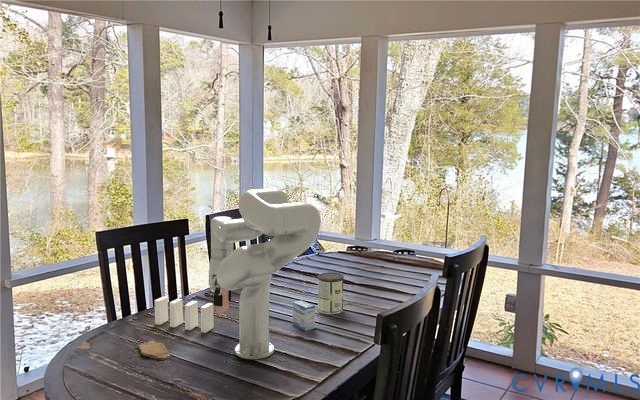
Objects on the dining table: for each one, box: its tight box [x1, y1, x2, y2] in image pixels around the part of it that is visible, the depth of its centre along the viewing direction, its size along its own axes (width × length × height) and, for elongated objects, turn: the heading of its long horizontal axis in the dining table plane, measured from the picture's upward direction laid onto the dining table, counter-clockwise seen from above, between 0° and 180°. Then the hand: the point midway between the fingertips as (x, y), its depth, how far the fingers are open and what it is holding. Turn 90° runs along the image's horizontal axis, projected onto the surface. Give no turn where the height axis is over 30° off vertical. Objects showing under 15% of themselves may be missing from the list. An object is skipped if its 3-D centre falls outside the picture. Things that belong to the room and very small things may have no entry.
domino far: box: [154, 296, 169, 326], centre depth 188 cm, size 2×5×9 cm, turn 160°
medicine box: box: [291, 300, 316, 332], centre depth 186 cm, size 8×4×9 cm, turn 40°
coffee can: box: [317, 272, 345, 315], centre depth 203 cm, size 10×10×14 cm
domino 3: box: [200, 302, 215, 334], centre depth 182 cm, size 2×5×9 cm, turn 160°
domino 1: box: [169, 298, 184, 328], centre depth 186 cm, size 2×5×9 cm, turn 160°
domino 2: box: [184, 300, 199, 331], centre depth 184 cm, size 2×5×9 cm, turn 160°
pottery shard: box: [135, 340, 172, 361], centre depth 164 cm, size 8×3×15 cm
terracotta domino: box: [215, 288, 230, 314], centre depth 179 cm, size 2×5×9 cm, turn 160°
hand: (222, 302), depth 179 cm, fingers closed on terracotta domino, 4 cm apart
